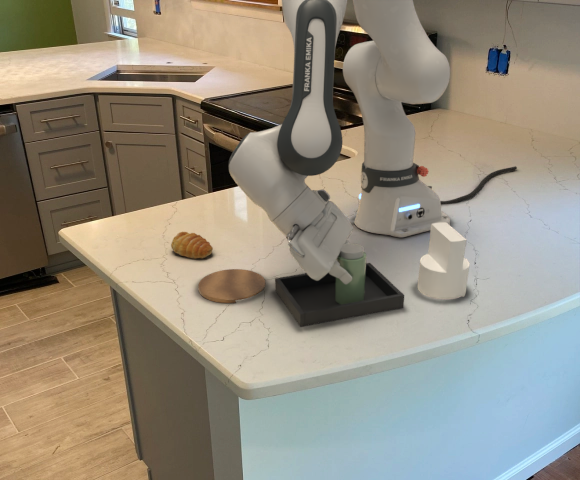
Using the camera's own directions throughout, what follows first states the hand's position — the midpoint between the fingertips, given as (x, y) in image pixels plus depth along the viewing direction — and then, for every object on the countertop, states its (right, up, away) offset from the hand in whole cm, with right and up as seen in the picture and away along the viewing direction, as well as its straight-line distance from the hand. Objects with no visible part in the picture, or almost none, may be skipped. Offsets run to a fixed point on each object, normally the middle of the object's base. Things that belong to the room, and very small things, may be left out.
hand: (354, 272), depth 112 cm
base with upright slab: (+17, -3, +6) cm, 19 cm away
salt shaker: (-1, -5, +3) cm, 5 cm away
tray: (-3, -5, +4) cm, 7 cm away
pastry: (-33, +7, +24) cm, 41 cm away
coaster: (-23, -2, +9) cm, 25 cm away
